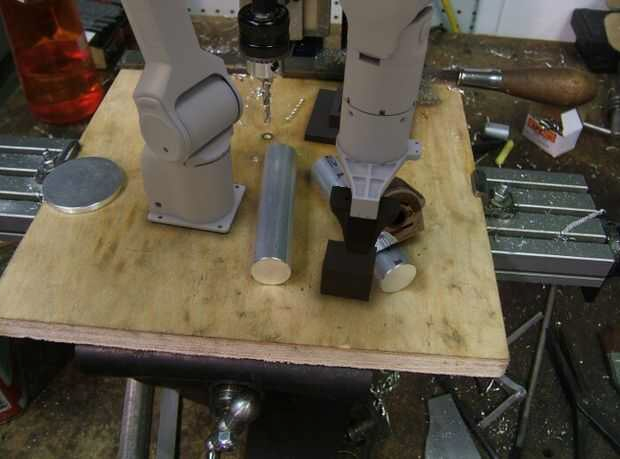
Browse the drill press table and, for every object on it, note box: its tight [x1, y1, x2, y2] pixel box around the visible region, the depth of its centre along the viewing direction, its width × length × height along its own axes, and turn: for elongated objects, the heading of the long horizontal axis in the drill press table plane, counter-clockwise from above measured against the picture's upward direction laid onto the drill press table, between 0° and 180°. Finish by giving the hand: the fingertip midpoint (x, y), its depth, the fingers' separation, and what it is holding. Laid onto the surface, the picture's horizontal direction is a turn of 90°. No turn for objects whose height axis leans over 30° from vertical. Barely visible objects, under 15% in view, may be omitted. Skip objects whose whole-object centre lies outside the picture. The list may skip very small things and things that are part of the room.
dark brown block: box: [319, 238, 377, 302], centre depth 57 cm, size 5×4×4 cm
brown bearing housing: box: [382, 175, 426, 243], centre depth 63 cm, size 7×13×10 cm
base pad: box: [304, 87, 412, 145], centre depth 78 cm, size 14×12×3 cm
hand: (361, 221), depth 53 cm, fingers open, 7 cm apart
